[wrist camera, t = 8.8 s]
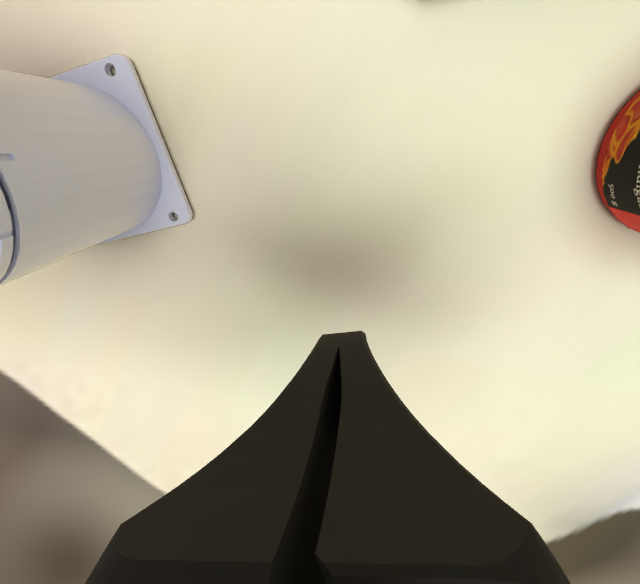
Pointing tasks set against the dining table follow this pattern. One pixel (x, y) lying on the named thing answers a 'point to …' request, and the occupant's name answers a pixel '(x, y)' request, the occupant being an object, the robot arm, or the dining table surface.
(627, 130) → the canned food
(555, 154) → the dining table surface
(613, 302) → the dining table surface
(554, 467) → the dining table surface
